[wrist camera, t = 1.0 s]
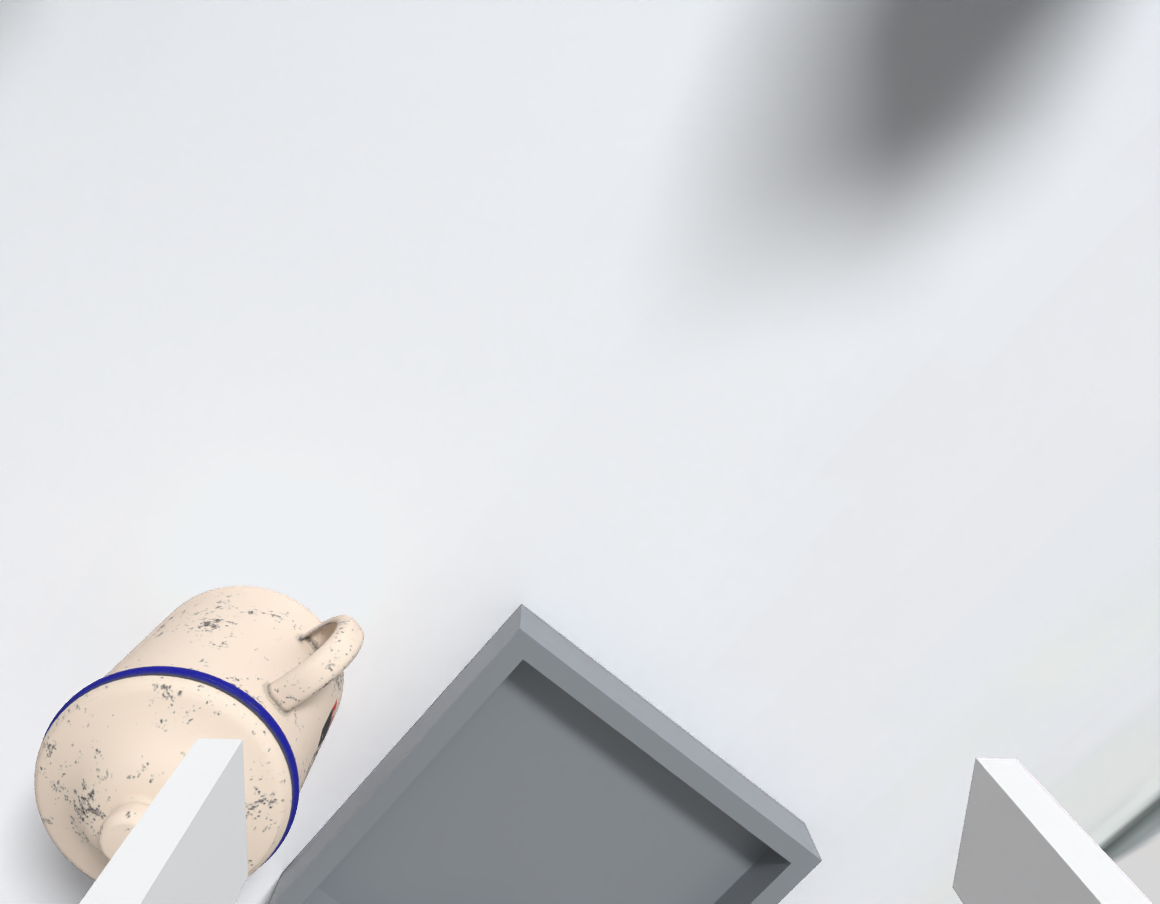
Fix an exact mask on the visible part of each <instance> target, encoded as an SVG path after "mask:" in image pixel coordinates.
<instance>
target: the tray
mask: <svg viewBox="0 0 1160 904" xmlns="http://www.w3.org/2000/svg"><path fill="white" fill-rule="evenodd" d="M821 861H822V860H821V857H820V855H819V853H818V851H817V849H816V847H815V844H814V842H813V840H812V838H811V836H810V834H809V831H808V829H807V827H806V825H805V823H804V822H802V821H801V820H800V819H798V818H797V817H796V816H794V815H793V814H792V813H791V812H789V811H788V810H787V809H785V808H784V807H783V806H782V805H780V804H779V803H778V802H776V801H775V800H774V799H773V798H771V797H770V796H769V795H767V794H766V793H765V792H764V791H762V790H761V789H760V788H758V787H757V786H756V785H754V784H753V783H752V782H751V781H749V780H748V779H747V778H745V777H744V776H743V775H742V774H740V773H739V772H738V771H736V770H735V769H734V768H733V767H731V766H730V765H729V764H727V763H726V762H725V761H724V760H722V759H721V758H720V757H718V756H717V755H716V754H714V753H713V752H712V751H711V750H709V749H708V748H707V747H705V746H704V745H703V744H702V743H700V742H699V741H698V740H696V739H695V738H694V737H693V736H691V735H690V734H689V733H687V732H686V731H685V730H684V729H682V728H681V727H680V726H678V725H677V724H676V723H674V722H673V721H672V720H671V719H669V718H668V717H667V716H665V715H664V714H663V713H662V712H660V711H659V710H658V709H656V708H655V707H654V706H653V705H651V704H650V703H649V702H647V701H646V700H645V699H644V698H642V697H641V696H640V695H638V694H637V693H636V692H634V691H633V690H632V689H631V688H629V687H628V686H627V685H625V684H624V683H623V682H622V681H620V680H619V679H618V678H616V677H615V676H614V675H613V674H611V673H610V672H609V671H607V670H606V669H605V668H604V667H602V666H601V665H600V664H598V663H597V662H596V661H594V660H593V659H592V658H591V657H589V656H588V655H587V654H585V653H584V652H583V651H582V650H580V649H579V648H578V647H576V646H575V645H574V644H573V643H571V642H570V641H569V640H567V639H566V638H565V637H563V636H562V635H561V634H560V633H558V632H557V631H556V630H554V629H553V628H552V627H551V626H549V625H548V624H547V623H545V622H544V621H543V620H542V619H540V618H539V617H538V616H536V615H535V614H534V613H533V612H531V611H530V610H529V609H527V608H526V607H525V606H523V605H522V604H521V605H520V606H519V608H518V609H517V610H516V611H515V612H514V613H513V614H512V615H511V617H510V618H509V619H508V620H507V621H506V622H505V623H504V624H503V626H502V627H501V628H500V629H499V630H498V631H497V632H496V633H495V635H494V636H493V637H492V638H491V639H490V640H489V641H488V642H487V644H486V645H485V646H484V647H483V648H482V649H481V650H480V651H479V652H478V654H477V655H476V656H475V657H474V658H473V659H472V660H471V661H470V663H469V664H468V665H467V666H466V667H465V668H464V669H463V670H462V672H461V673H460V674H459V675H458V676H457V677H456V678H455V679H454V681H453V682H452V683H451V684H450V685H449V686H448V687H447V688H446V690H445V691H444V692H443V693H442V694H441V695H440V696H439V697H438V699H437V700H436V701H435V702H434V703H433V704H432V705H431V706H430V707H429V709H428V710H427V711H426V712H425V713H424V714H423V715H422V716H421V718H420V719H419V720H418V721H417V722H416V723H415V724H414V725H413V727H412V728H411V729H410V730H409V731H408V732H407V733H406V734H405V736H404V737H403V738H402V739H401V740H400V741H399V742H398V743H397V745H396V746H395V747H394V748H393V749H392V750H391V751H390V752H389V753H388V755H387V756H386V757H385V758H384V759H383V760H382V761H381V762H380V764H379V765H378V766H377V767H376V768H375V769H374V770H373V771H372V773H371V774H370V775H369V776H368V777H367V778H366V779H365V780H364V782H363V783H362V784H361V785H360V786H359V787H358V788H357V789H356V791H355V792H354V793H353V794H352V795H351V796H350V797H349V798H348V800H347V801H346V802H345V803H344V804H343V805H342V806H341V807H340V808H339V810H338V811H337V812H336V813H335V814H334V815H333V816H332V817H331V819H330V820H329V821H328V822H327V823H326V824H325V825H324V826H323V828H322V829H321V830H320V831H319V832H318V833H317V834H316V835H315V837H314V838H313V839H312V840H311V841H310V842H309V843H308V844H307V846H306V847H305V848H304V849H303V850H302V851H301V852H300V853H299V854H298V856H297V857H296V858H295V859H294V860H293V861H292V862H291V863H290V865H289V866H288V867H287V868H286V869H285V870H284V871H283V873H282V875H281V877H280V880H279V882H278V884H277V887H276V889H275V891H274V894H273V896H272V898H271V901H270V903H269V904H778V903H779V902H780V901H781V900H782V899H783V898H784V897H785V896H786V895H787V894H788V893H789V892H790V891H791V890H792V889H793V888H794V887H795V886H796V885H797V884H798V883H799V882H800V881H801V880H802V879H803V878H805V877H806V876H807V875H808V874H809V873H810V872H811V871H812V870H813V869H814V868H815V867H816V866H817V865H818V864H819V863H820V862H821Z"/></svg>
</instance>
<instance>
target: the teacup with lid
mask: <svg viewBox="0 0 1160 904" xmlns="http://www.w3.org/2000/svg"><path fill="white" fill-rule="evenodd" d="M363 640H364V633H363V631H362V629H361V627H360V626H359V625H358V623H357V622H356V621H355V620H354V619H353V618H352V617H350V616H347V615H339V616H335V617H332V618H330V619H328V620H326V621H324V622H321V621H320V620H319V619H318V618H317V617H316V616H315V615H314V614H313V613H312V612H311V611H310V610H308V609H307V608H306V607H304V606H303V605H302V604H300V603H298V602H297V601H295V600H294V599H292V598H290V597H288V596H286V595H283V594H281V593H278V592H275V591H272V590H268V589H264V588H259V587H251V586H230V587H223V588H217V589H214V590H210V591H207V592H204V593H201V594H199V595H197V596H195V597H193V598H191V599H190V600H188V601H186V602H185V603H183V604H182V605H180V606H179V607H178V608H177V609H175V610H174V611H173V612H172V613H171V614H170V615H169V616H168V617H167V618H166V619H165V620H164V621H163V622H162V623H161V624H160V625H158V626H157V627H156V628H155V629H154V630H153V631H152V632H151V633H150V634H149V635H148V636H147V637H146V638H145V639H144V640H143V641H142V642H141V643H139V644H138V645H137V646H136V647H135V648H134V649H133V650H132V651H131V652H130V653H129V654H128V655H127V656H126V657H125V658H124V659H123V660H122V661H120V662H119V663H118V664H117V665H116V666H115V667H114V668H113V669H112V670H111V671H110V672H109V673H108V674H107V675H106V676H105V677H103V678H101V679H99V680H97V681H95V682H93V683H92V684H90V685H88V686H87V687H85V688H83V689H82V690H81V691H80V692H78V693H77V694H76V695H74V696H73V697H72V698H71V699H70V700H69V701H68V702H67V703H66V704H65V705H64V706H63V707H62V708H61V710H60V711H59V712H58V713H57V714H56V716H55V717H54V719H53V720H52V722H51V723H50V725H49V727H48V729H47V731H46V733H45V736H44V738H43V741H42V744H41V747H40V750H39V752H38V757H37V761H36V767H35V795H36V801H37V806H38V810H39V813H40V816H41V819H42V821H43V824H44V826H45V828H46V830H47V832H48V833H49V835H50V837H51V838H52V840H53V842H54V843H55V844H56V846H57V847H58V848H59V850H60V851H61V852H62V853H63V854H64V855H65V856H66V858H67V859H68V860H69V861H71V862H72V863H73V864H74V865H75V866H76V867H77V868H78V869H80V870H81V871H82V872H84V873H85V874H86V875H88V876H89V877H91V878H93V879H94V880H97V878H98V877H99V875H100V874H101V873H102V871H103V870H104V868H105V867H106V866H107V864H108V863H109V861H110V860H111V859H112V857H113V856H114V854H115V853H116V852H117V850H118V849H119V847H120V846H121V845H122V843H123V842H124V841H125V839H126V838H127V836H128V835H129V834H130V832H131V831H132V829H133V828H134V827H135V825H136V824H137V822H138V821H139V820H140V818H141V817H142V815H143V814H144V813H145V811H146V810H147V808H148V807H149V806H150V804H151V803H152V802H153V800H154V799H155V797H156V796H157V795H158V793H159V792H160V790H161V789H162V788H163V786H164V785H165V783H166V782H167V781H168V779H169V778H170V776H171V775H172V774H173V772H174V771H175V769H176V768H177V767H178V765H179V764H180V763H181V761H182V760H183V758H184V757H185V756H186V754H187V753H188V751H189V750H190V749H191V747H192V746H193V744H194V743H195V742H196V740H197V739H198V738H208V739H243V757H244V782H245V808H246V833H247V859H248V876H249V875H251V874H252V873H253V872H255V871H256V870H257V869H258V868H259V867H260V866H262V865H263V864H264V863H265V862H266V861H267V860H268V859H269V858H270V857H271V856H272V855H273V854H274V853H275V852H276V851H277V849H278V848H279V846H280V845H281V844H282V842H283V841H284V839H285V837H286V836H287V834H288V832H289V830H290V828H291V825H292V823H293V820H294V817H295V814H296V810H297V805H298V799H299V792H300V790H301V788H302V786H303V784H304V781H305V779H306V777H307V775H308V773H309V771H310V768H311V766H312V764H313V762H314V760H315V758H316V755H317V753H318V751H319V749H320V747H321V745H322V742H323V740H324V738H325V736H326V734H327V732H328V729H329V727H330V725H331V723H332V721H333V718H334V716H335V714H336V712H337V710H338V707H339V704H340V701H341V697H342V692H343V682H344V679H343V670H344V669H345V668H346V667H347V666H348V665H349V664H350V663H351V662H352V661H353V659H354V658H355V657H356V655H357V654H358V652H359V650H360V648H361V646H362V644H363Z"/></svg>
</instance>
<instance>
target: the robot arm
mask: <svg viewBox="0 0 1160 904" xmlns="http://www.w3.org/2000/svg"><path fill="white" fill-rule="evenodd" d="M247 877H248V859H247V833H246V808H245V782H244V757H243V739H208V738H198V739H197V740H196V742H195V743H194V744H193V746H192V747H191V749H190V750H189V751H188V753H187V754H186V756H185V757H184V758H183V760H182V761H181V763H180V764H179V765H178V767H177V768H176V769H175V771H174V772H173V774H172V775H171V776H170V778H169V779H168V781H167V782H166V783H165V785H164V786H163V788H162V789H161V790H160V792H159V793H158V795H157V796H156V797H155V799H154V800H153V802H152V803H151V804H150V806H149V807H148V808H147V810H146V811H145V813H144V814H143V815H142V817H141V818H140V820H139V821H138V822H137V824H136V825H135V827H134V828H133V829H132V831H131V832H130V834H129V835H128V836H127V838H126V839H125V841H124V842H123V843H122V845H121V846H120V847H119V849H118V850H117V852H116V853H115V854H114V856H113V857H112V859H111V860H110V861H109V863H108V864H107V866H106V867H105V868H104V870H103V871H102V873H101V874H100V875H99V877H98V878H97V880H96V881H95V882H94V884H93V885H92V886H91V888H90V889H89V891H88V892H87V893H86V895H85V896H84V898H83V899H82V900H81V902H80V903H79V904H235V902H236V900H237V898H238V896H239V894H240V892H241V890H242V887H243V885H244V883H245V881H246V879H247ZM953 889H954V890H955V892H956V893H957V895H958V896H959V898H960V900H961V901H962V903H963V904H1153V903H1152V902H1151V901H1150V900H1149V899H1148V898H1147V897H1146V896H1145V895H1144V894H1143V893H1142V892H1141V891H1140V890H1139V889H1138V887H1137V886H1136V885H1135V884H1134V883H1133V882H1132V881H1131V880H1130V879H1129V878H1128V877H1127V876H1126V875H1125V874H1124V873H1123V871H1122V870H1120V868H1119V867H1118V866H1117V865H1116V864H1115V863H1114V862H1113V861H1112V860H1111V859H1110V858H1109V857H1108V856H1107V854H1106V853H1105V852H1104V851H1103V850H1102V849H1101V848H1100V847H1099V846H1098V845H1097V844H1096V843H1095V842H1094V841H1093V840H1092V839H1091V837H1090V836H1089V835H1088V834H1087V833H1086V832H1085V831H1084V830H1083V829H1082V828H1081V827H1080V826H1079V825H1078V824H1077V823H1076V822H1075V820H1074V819H1073V818H1072V817H1071V816H1070V815H1069V814H1068V813H1067V812H1066V811H1065V810H1064V809H1063V808H1062V807H1061V806H1060V805H1059V803H1058V802H1057V801H1056V800H1055V799H1054V798H1053V797H1052V796H1051V795H1050V794H1049V793H1048V792H1047V791H1046V790H1045V789H1044V788H1043V786H1042V785H1041V784H1040V783H1039V782H1038V781H1037V780H1036V779H1035V778H1034V777H1033V776H1032V775H1031V774H1030V773H1029V772H1028V770H1027V769H1026V768H1025V767H1024V766H1023V765H1022V764H1021V763H1020V762H1019V761H1018V760H1017V759H1008V758H976V759H975V764H974V770H973V776H972V781H971V787H970V792H969V798H968V804H967V809H966V815H965V820H964V826H963V832H962V837H961V843H960V849H959V854H958V860H957V865H956V871H955V877H954V882H953Z"/></svg>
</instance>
